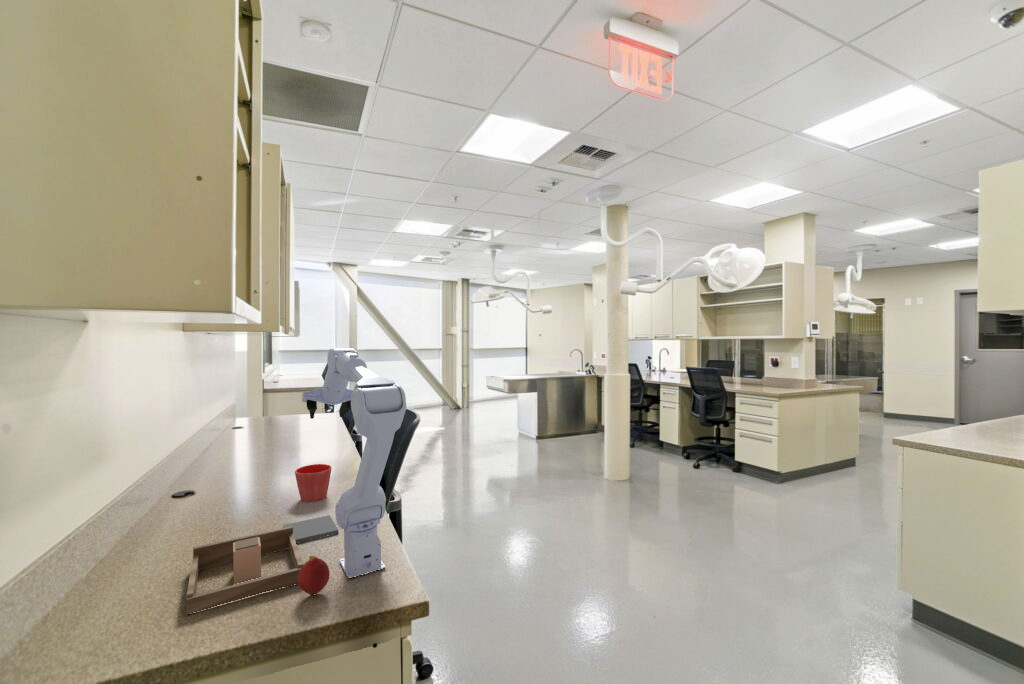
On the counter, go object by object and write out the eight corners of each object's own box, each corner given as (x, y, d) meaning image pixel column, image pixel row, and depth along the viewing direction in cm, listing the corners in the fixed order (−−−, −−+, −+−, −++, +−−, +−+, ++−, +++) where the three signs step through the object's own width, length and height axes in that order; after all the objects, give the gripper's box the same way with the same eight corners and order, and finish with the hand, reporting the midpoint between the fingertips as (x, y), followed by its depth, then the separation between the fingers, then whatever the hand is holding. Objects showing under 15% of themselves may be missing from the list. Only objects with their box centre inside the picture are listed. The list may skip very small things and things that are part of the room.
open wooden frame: (304, 582, 92) (304, 558, 92) (186, 615, 81) (186, 589, 81) (292, 546, 109) (292, 526, 109) (193, 569, 98) (193, 547, 98)
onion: (321, 583, 92) (320, 545, 92) (335, 593, 88) (334, 553, 88) (292, 596, 87) (292, 556, 87) (306, 606, 84) (305, 565, 84)
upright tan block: (261, 577, 94) (260, 544, 94) (233, 585, 92) (233, 550, 92) (259, 567, 98) (259, 535, 98) (233, 574, 96) (233, 541, 96)
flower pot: (323, 503, 137) (322, 473, 137) (288, 504, 138) (288, 473, 138) (337, 492, 148) (336, 463, 148) (305, 492, 148) (305, 463, 148)
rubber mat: (338, 533, 116) (338, 529, 116) (287, 545, 109) (287, 541, 109) (329, 518, 126) (329, 515, 126) (282, 528, 119) (282, 525, 119)
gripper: (361, 372, 120) (351, 402, 128) (304, 371, 112) (296, 404, 120) (366, 392, 116) (354, 422, 124) (306, 393, 108) (298, 425, 116)
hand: (326, 415), depth 122 cm, fingers open, 7 cm apart
